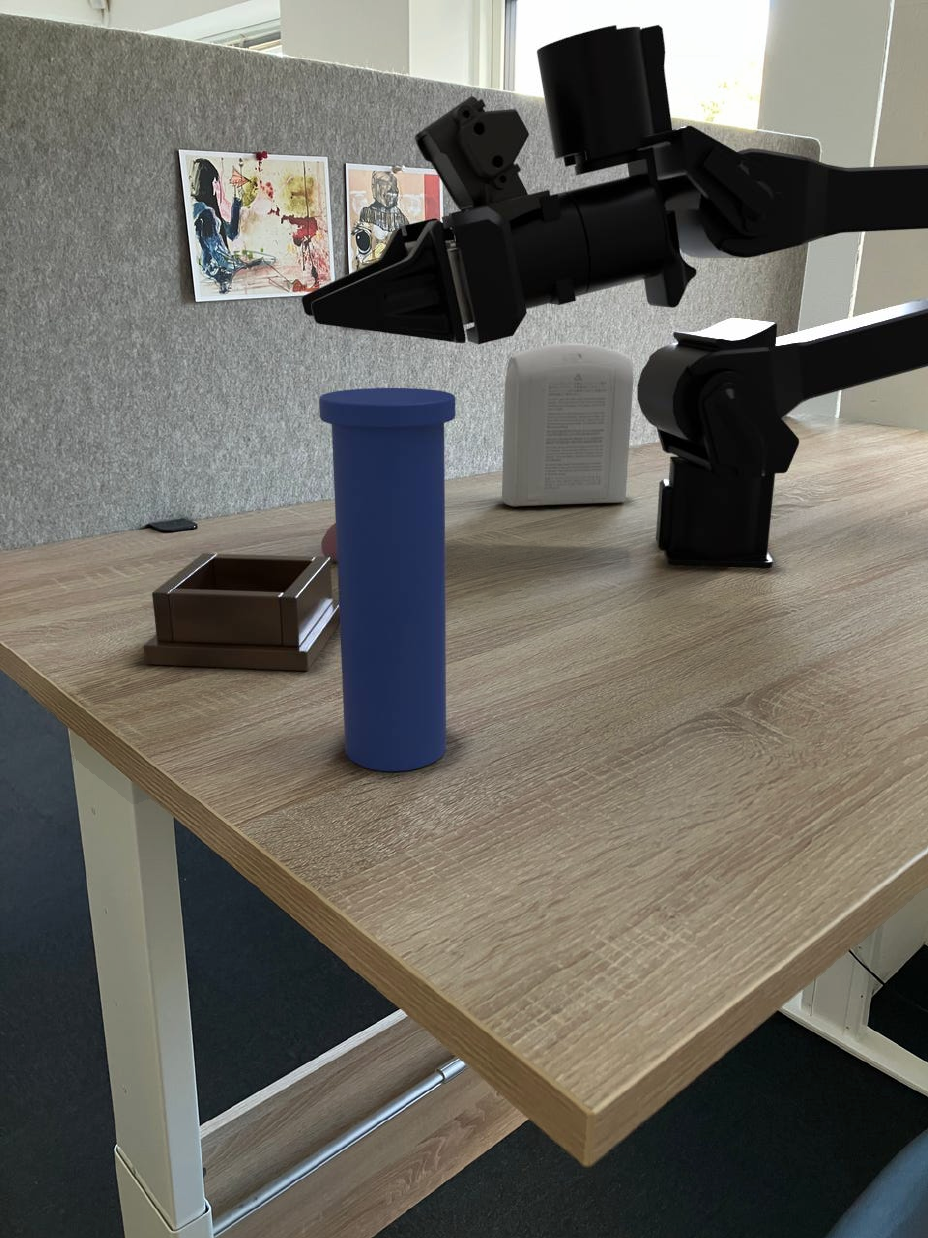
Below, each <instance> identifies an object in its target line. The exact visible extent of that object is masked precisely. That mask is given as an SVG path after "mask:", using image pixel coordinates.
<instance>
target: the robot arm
mask: <svg viewBox="0 0 928 1238" xmlns="http://www.w3.org/2000/svg"><path fill="white" fill-rule="evenodd" d="M536 56H537V62H538V67H539V72H540V80H541V85H542V91H543V96H544V102H545V108H546V114H547V120H548V127H549V132H550V137H551V144H552V151H553V155H554V160H559V159H560V160H561V159H563V163H564V168H568V167H571V166H574V172H575V176H580V175H585V174H589V173H594V172H598V171H603V170H606V169H611V168H614V167H618V166H623V165H627V172H628V176H626V177H625V176H624V177H622V178H617V179H613V180H608V181H604V182H600V183H595V184H592V185H588V186H583V187H579V188H575V189H571V190H565V191H563V192H558V193H554V194H551V190H550V189H545V190H542V191H538V192H534V193H528V190H527V189H526V188H527V187H526V186H525V184H524V183H523V181H522V179H521V177H520V175H519V173H520V172H521V171H522V169H521V167H520V165H519V163H516V164H515V162H516V161H517V158H518V156H519V155H520V153H521V151H522V149H523V147H524V145H525V144H526V142H527V140H528V138H529V136H530V133H529V132H530V131H528V128H527V127H526V125H525V122H524V121H523V119H522V117H521V116H520V114H519V112H518V110H517V109H516V108H510V109H509V108H508V109H498V110H497V109H496V110H485V107H486V103H485V101H484V99H483V98H480V99H477V98H476V97H475V96H473V95H471V96H469V97H468V98H466V99H464V100H463V101H462V102H460V103H459V104H457V105H456V106H455V107H452V109H450V110H449V111H448V112H446V113H444V114H443V115H442V116H440V117H439V118H437V119H436V120H434V121H433V122H432V123H430V124H428V125H427V126H426V127H424V128H423V129H422V130H421V131H419V132H418V133H416V134H415V135H414V141H415V144H416V146H417V148H418V150H419V152H420V153H421V155H422V157H423V159H424V160H425V161H426V162H429V163H430V164H431V166H432V167H433V169H434V170H435V172H436V174H437V176H438V177H439V179H440V181H441V183H442V184H443V186H444V188H445V189H446V191H447V193H448V194H449V196H450V198H451V200H452V201H453V203H454V204H455V205H456V207H457V208H458V209H459V210H457V211H454V212H450V213H448V215H445V216H441V220H439V219H438V218H436V217H434V218H430V219H425V220H421V221H417V222H413V223H408V224H404V225H400V226H398V228H395V229H394V230H393V231H392V232H391V233H390V235H389V238H388V240H387V242H386V244H385V246H384V248H383V250H382V252H381V254H380V256H379V257H378V258H377V259H376V260H375V261H373V262H370V263H368V264H367V265H364V266H362V267H361V268H358V269H356V270H354V271H352V272H350V273H348V274H346V275H343V276H341V277H340V278H338V279H335V280H333V281H330V282H329V283H327V284H325V285H323V286H321V287H319V288H316V289H315V290H313V291H311V292H308V293H306V294H304V295H303V296H302V297H301V304H302V308H303V311H304V314H305V315H307V316H310V317H313V319H314V322H315V323H316V324H319V325H324V326H330V327H338V328H346V329H354V330H361V331H368V332H376V333H385V334H389V335H390V334H391V335H398V336H405V337H412V338H420V339H427V340H435V341H443V342H449V343H455V344H465V343H466V340H467V341H468V342H470V343H473V344H475V345H482V344H486V343H490V342H494V341H498V340H502V339H505V338H506V339H507V338H510V337H513V336H515V334H516V333H517V331H518V328H519V327H520V325H521V323H523V320H524V319H525V318H526V316H527V314H528V312H527V310H529V309H532V308H536V307H537V308H538V307H540V306H544V305H548V304H549V305H554V306H555V305H556V306H560V305H565V304H569V303H570V304H571V303H573V302H576V301H577V297H581V296H583V295H588V294H591V293H595V292H599V291H603V290H607V289H611V288H614V287H619V286H622V285H626V284H631V283H634V282H639V281H643V284H644V289H645V296H646V301H647V304H648V305H650V306H651V307H652V306H653V307H662V308H671V309H675V308H677V307H678V306H679V304H680V302H681V300H682V298H683V296H684V294H685V293H686V290H687V287H688V285H689V283H690V282H691V281H692V280H693V279H694V278H695V277H696V276H697V273H698V272H697V271H698V270H697V269H696V267H694V266H691V265H690V264H688V263H687V262H686V261H685V259H684V258H683V256H682V254H681V252H682V253H683V254H685V255H687V256H689V257H691V258H697V259H748V258H749V259H750V258H756V257H759V256H763V255H767V254H771V253H776V252H779V251H783V250H787V249H791V248H795V247H799V246H802V245H805V244H809V243H811V242H814V241H816V240H819V239H822V238H827V237H830V236H831V237H832V236H834V235H838V234H844V233H865V232H884V231H885V232H887V231H888V232H889V231H907V230H908V231H909V230H927V229H928V164H916V165H915V164H914V165H890V166H889V165H888V166H887V165H886V166H885V165H884V166H861V167H859V166H858V167H845V166H838V165H832V164H827V163H824V162H822V161H818V160H815V159H812V158H810V157H807V156H803V155H798V154H797V155H796V154H792V153H791V154H790V153H787V152H786V153H785V152H779V151H774V150H768V149H764V148H763V149H762V148H753V147H752V148H751V147H749V148H745V149H741V150H737V151H736V150H734V149H733V148H731V147H729V146H727V145H725V144H724V143H722V142H720V141H718V140H717V139H715V138H714V137H712V136H710V135H709V134H706V133H705V132H703V131H702V130H701V129H698V128H696V127H695V126H693V125H686V126H682V127H679V128H675V129H673V125H672V123H673V122H672V115H671V109H670V103H669V93H668V87H667V85H668V84H667V79H666V78H667V77H666V71H665V70H666V69H665V63H666V62H665V61H666V45H665V36H664V29H663V27H662V26H661V25H659V24H656V25H651V26H646V27H640V26H629V27H622V28H618V27H617V24H614V25H607V26H604V27H599V28H596V29H591V30H588V31H584V32H580V33H577V34H574V35H571V36H567V37H564V38H562V39H561V38H560V39H558V40H555V41H553V42H551V43H548V44H546V45H543V46H542V47H540V48H538V49H537V50H536ZM470 324H473V326H471V327H468V328H466V329H465V325H470ZM777 334H778V323H777V322H771V321H764V320H763V321H762V320H752V319H744V318H735V317H731V318H728V319H726V320H722V321H719V322H717V323H716V324H713V325H711V326H709V327H707V328H704V329H702V330H699V331H694V332H683V331H678V330H675V331H674V332H673V333H672V336H673V338H674V339H675V340H676V342H673V343H669V344H667V345H664V346H662V347H660V348H658V349H657V350H655V351H653V353H652V354H650V356H649V357H648V360H647V361H646V363H645V365H644V366H643V368H642V369H641V372H640V374H639V379H638V382H637V385H636V386H637V387H636V389H637V391H636V392H637V395H636V397H637V403H638V405H639V409H640V411H641V413H642V415H643V417H644V418H645V419H646V420H647V422H648V423H649V424H651V425H652V426H654V427H655V428H656V431H657V435H658V438H659V441H660V445H661V448H662V451H663V452H664V453H667V454H671V455H674V456H670V457H669V469H668V471H669V473H668V478H666V479H665V478H664V479H661V480H660V481H659V486H658V498H657V499H658V500H657V502H658V503H657V517H656V533H655V540H656V543H657V547H658V548H659V549H660V551H663V553H664V557H665V560H666V564H667V565H668V566H674V567H699V568H700V567H703V568H732V569H733V568H734V569H735V568H736V569H765V570H766V569H767V570H768V569H772V568H773V563H774V560H773V559H772V557H771V555H770V553H769V552H768V550H769V548H768V547H769V539H770V532H771V531H770V529H771V522H772V521H771V519H772V512H773V511H772V510H773V499H774V490H775V480H776V474H785V473H787V472H788V470H789V468H790V466H791V464H792V461H793V459H794V456H795V455H796V452H797V449H798V448H799V445H800V439H799V437H798V436H797V435H796V433H795V432H794V431H793V430H792V429H791V427H789V426H788V424H787V423H786V422H785V421H784V418H785V417H786V416H788V415H789V414H790V413H792V412H793V411H794V410H795V409H796V408H798V407H799V406H800V405H801V404H803V403H805V402H807V401H808V400H809V401H810V400H811V399H815V398H818V397H821V396H824V395H828V394H829V395H830V394H833V393H836V392H840V391H844V390H847V389H851V388H854V387H858V386H861V385H866V384H869V383H873V382H876V381H880V380H884V379H887V378H890V377H895V376H898V375H902V374H906V373H909V372H913V371H916V370H919V369H923V368H926V367H928V297H924V298H920V299H918V300H913V301H909V302H906V303H905V302H904V303H901V304H898V305H894V306H890V307H887V308H882V309H880V310H875V311H872V312H869V313H865V314H861V315H858V316H853V317H849V318H846V319H842V320H837V321H834V322H831V323H827V324H824V325H820V326H815V327H813V328H809V329H805V330H801V331H797V332H793V333H790V334H786V335H782V336H778V335H777ZM777 336H778V337H777ZM466 338H467V339H466Z"/></svg>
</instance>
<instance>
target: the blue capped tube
mask: <svg viewBox="0 0 928 1238" xmlns="http://www.w3.org/2000/svg"><path fill="white" fill-rule="evenodd" d="M318 407H319V409H318V410H319V418H320V420H321V421H322V422H324V423H326V424H329V425H331V445H332V466H333V490H334V491H333V493H334V515H335V516H334V517H335V523H336V542H337V563H336V564H337V565H336V566H337V584H338V585H337V586H338V587H337V588H338V599H339V612H340V623H339V633H340V635H339V636H340V656H341V657H340V658H341V679H342V680H341V681H342V682H341V683H342V703H343V727H344V730H343V731H344V750H345V751H344V752H345V754H346V756H347V757H348V759H349V760H350V761H352V762H353V763H354V764H356V765H358V766H360V767H362V768H366V769H369V770H375V771H379V772H404V771H405V772H406V771H411V770H412V771H413V770H416V769H420V768H421V769H422V768H424V767H426V766H429V765H431V764H434V763H435V762H437V761H438V760H440V759H441V758H442V757H443V756H444V754H445V752H446V750H447V657H446V656H447V655H446V654H447V651H446V650H447V648H446V647H447V646H446V645H447V643H446V637H447V635H446V493H445V492H446V491H445V490H446V489H445V488H446V487H445V484H446V483H445V482H446V481H445V477H446V476H445V475H446V474H445V472H446V471H445V469H446V468H445V467H446V466H445V424H447V423H448V422H451V421H453V420H455V418H456V396H455V395H454V394H453V393H451V392H448V391H444V390H437V389H429V388H416V387H415V388H413V387H370V388H352V389H342V390H336V391H335V390H334V391H329V392H326V393H324V394H321V395H320V396H319V398H318Z"/></svg>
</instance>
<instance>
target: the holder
mask: <svg viewBox="0 0 928 1238" xmlns="http://www.w3.org/2000/svg"><path fill="white" fill-rule="evenodd" d="M331 563H332V561H331V560H330V557H325V556H308V555H307V556H303V555H302V556H301V555H271V554H240V553H239V554H237V553H236V554H235V553H203V552H202V554H200V555H199V556H198V557H196V558H195V559H193V561H191V562H190V563H188V564H187V565H186V566H185V567H183V568H182V569H181V570H179V571H178V572H177V573H176V574H174V575H173V576H172V577H170V578H169V579H168V580H166V581H165V582H164V583H163V584H161V585H160V586H159V587H157V588H156V589H155V590H154V591H152V592H151V596H152V597H151V598H152V607H153V615H154V616H153V617H154V624H155V635H153V636H152V637H151V638H150V639H149V640H148V641H147V642H146V643H144V644H143V647H142V648H143V657H144V664H145V665H154V666H177V667H179V666H180V667H200V668H201V667H204V668H227V669H251V670H252V669H253V670H274V671H275V670H276V671H278V670H279V671H300V672H301V671H302V672H307V671H309V669H310V668H311V666H312V665H313V663H314V662H315V660H316V659H317V657H319V654H320V653H321V652H322V650H323V649H324V647H325V645H326V644H327V642H328V641H329V640H330V638H331V636H332V635H333V633H334V632H335V630H336V629H337V627H338V626H339V625H340V612H339V598H336V599H335V598H333V585H332V583H333V582H332V564H331Z"/></svg>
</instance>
